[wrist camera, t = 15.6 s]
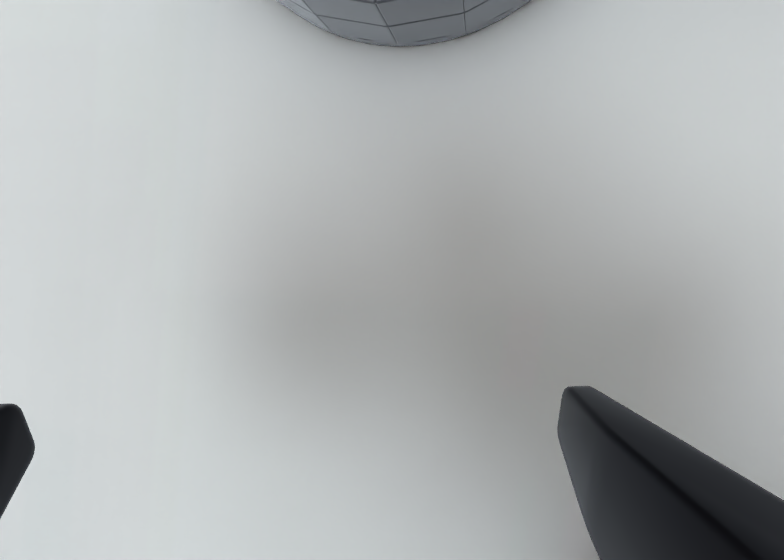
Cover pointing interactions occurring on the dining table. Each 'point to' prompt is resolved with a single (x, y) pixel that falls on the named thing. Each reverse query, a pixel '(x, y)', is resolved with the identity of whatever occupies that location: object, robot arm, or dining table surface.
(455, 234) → the dining table surface
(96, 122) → the dining table surface
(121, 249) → the dining table surface
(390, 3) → the pan
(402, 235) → the dining table surface
